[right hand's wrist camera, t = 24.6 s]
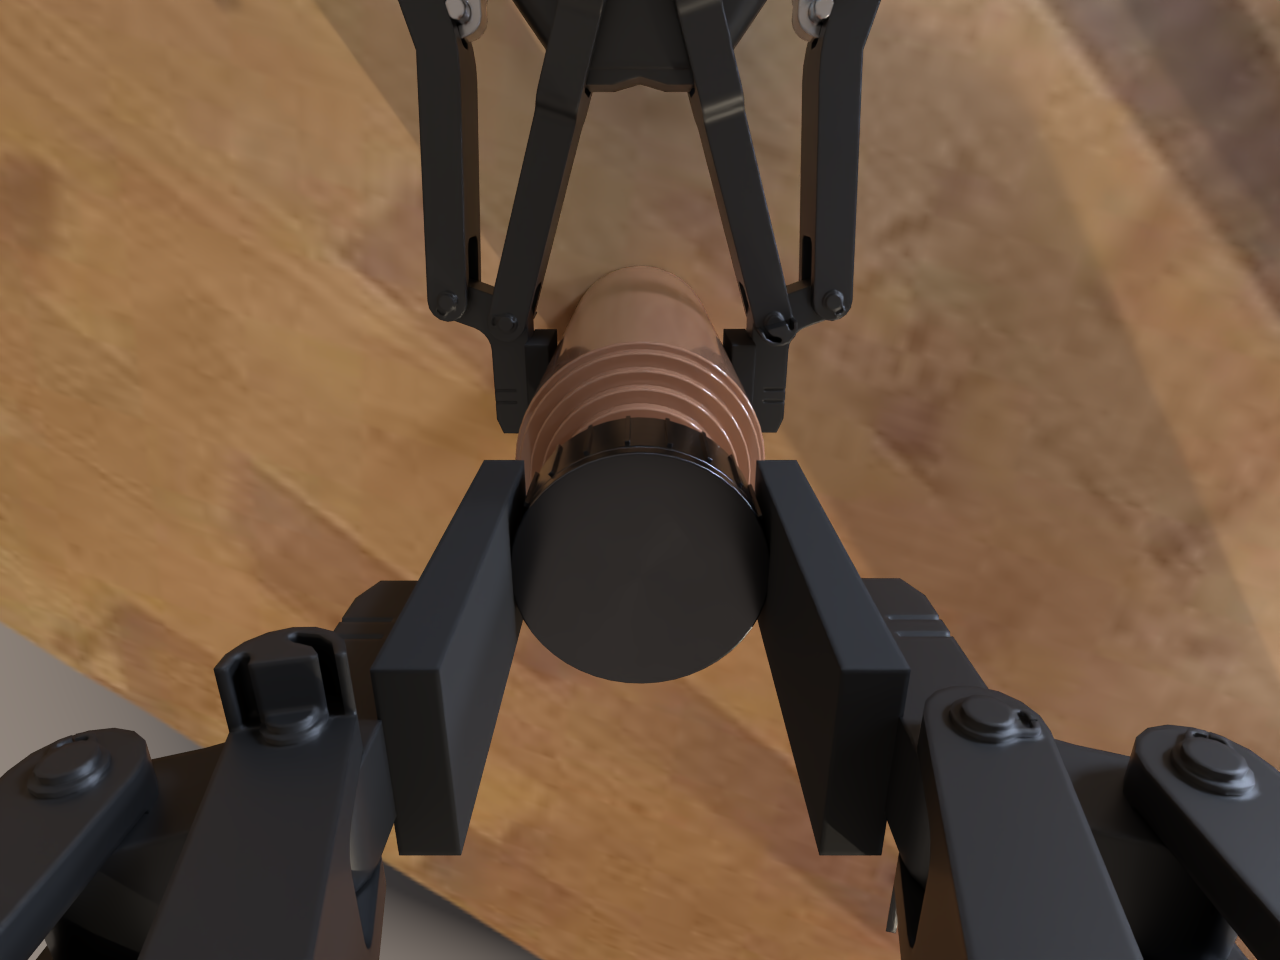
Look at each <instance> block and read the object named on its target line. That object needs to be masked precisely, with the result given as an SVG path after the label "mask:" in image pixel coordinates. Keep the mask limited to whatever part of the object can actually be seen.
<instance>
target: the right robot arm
mask: <svg viewBox="0 0 1280 960" xmlns="http://www.w3.org/2000/svg"><path fill="white" fill-rule="evenodd" d="M754 492H755V495H756V498H757V500H758V503H759V506H760V509H761V511H762V514H763V517H764V519H761V522H762V525H763V528H764V531H765V534H766V537H767V540H768V544H769V549H770V563H769V577H768V591H767V598H766V601H765V604H764V606H763V608H762V611H761V613H760V615H759V617H758V619H757V620H758V623H759V627H760V631H761V635H762V639H763V642H764V646H765V650H766V654H767V658H768V661H769V665H770V669H771V673H772V677H773V680H774V684H775V688H776V692H777V696H778V699H779V703H780V707H781V711H782V715H783V718H784V722H785V726H786V730H787V734H788V737H789V741H790V745H791V749H792V753H793V756H794V760H795V764H796V768H797V772H798V775H799V779H800V783H801V787H802V791H803V795H804V798H805V802H806V806H807V810H808V814H809V817H810V821H811V825H812V829H813V833H814V836H815V840H816V844H817V848H818V852H819V855H881V854H882V848H883V841H884V835H885V829H886V823H887V821H888V824H889V827H890V829H891V832H892V834H893V837H894V840H895V842H896V845H897V848H898V850H899V856H898V862H897V868H896V874H895V880H894V886H893V891H892V897H891V903H890V909H889V915H888V921H887V928H886V931H887V932H892V933H896V929H897V924H898V932H899V943H900V953H901V960H1248V959H1247V958H1246V956H1245V955H1244V954H1243V953H1242V951H1241V950H1240V949H1239V948H1238V946H1237V945H1236V944H1235V940H1236V938H1237V936H1239V937H1240V939H1241V940H1242V941H1243V942H1244V944H1245V945H1246V946H1247V947H1248V949H1249V950H1250V951H1251V952H1252V954H1253V955H1254V956H1255V957H1256V959H1257V960H1280V772H1279V771H1277V770H1276V769H1275V768H1274V767H1273V766H1271V765H1270V764H1269V763H1267V762H1266V761H1265V760H1263V759H1262V758H1260V757H1259V756H1258V755H1256V754H1255V753H1254V752H1252V751H1251V750H1249V749H1247V748H1245V747H1243V746H1241V745H1239V744H1237V743H1235V742H1233V741H1231V740H1229V739H1227V738H1225V737H1223V736H1220V735H1217V734H1215V733H1212V732H1206V731H1205V730H1200V729H1196V728H1193V727H1184V726H1175V725H1163V726H1157V727H1151V728H1147V729H1146V730H1144V731H1143V732H1142V733H1141V734H1140V735H1138V736H1137V737H1136V740H1135V743H1134V746H1133V749H1132V753H1131V756H1125V755H1121V754H1116V753H1111V752H1106V751H1102V750H1097V749H1092V748H1088V747H1083V746H1078V745H1074V744H1071V743H1067V742H1063V741H1060V740H1056V739H1054V738H1053V736H1052V733H1051V731H1050V730H1049V728H1048V727H1047V725H1046V724H1045V722H1044V721H1043V720H1042V718H1041V717H1040V715H1038V714H1037V713H1036V712H1034V711H1033V710H1032V709H1030V708H1029V707H1028V706H1026V705H1025V704H1024V703H1022V702H1021V701H1019V700H1016V699H1014V698H1012V697H1010V696H1008V695H1005V694H1003V693H1001V692H999V691H994V690H990V689H988V688H987V686H986V685H985V683H984V682H983V680H982V679H981V677H980V676H979V674H978V673H977V671H976V670H975V668H974V667H973V665H972V664H971V663H970V661H969V660H968V658H967V657H966V655H965V654H964V652H963V651H962V649H961V648H960V646H959V645H958V643H957V642H956V640H955V639H954V637H953V636H950V632H949V630H948V629H947V627H946V626H945V624H944V623H943V621H942V620H939V615H938V614H937V612H936V611H935V609H934V608H933V606H932V605H931V603H930V602H929V600H928V599H927V598H926V596H925V595H924V594H922V593H921V592H919V591H918V590H916V589H915V588H913V587H912V586H910V585H909V584H908V583H906V582H905V581H903V580H902V579H900V578H860V576H859V574H858V572H857V570H856V568H855V567H854V565H853V563H852V561H851V559H850V557H849V556H848V554H847V552H846V550H845V548H844V546H843V545H842V543H841V541H840V539H839V537H838V535H837V534H836V532H835V530H834V528H833V526H832V524H831V523H830V521H829V519H828V517H827V515H826V513H825V512H824V510H823V508H822V506H821V504H820V503H819V501H818V499H817V497H816V495H815V493H814V492H813V490H812V488H811V486H810V484H809V482H808V481H807V479H806V477H805V475H804V473H803V471H802V470H801V468H800V466H799V464H798V462H797V460H756V475H755V491H754ZM525 498H526V483H525V467H524V460H484V461H483V463H482V465H481V467H480V469H479V470H478V472H477V474H476V476H475V478H474V480H473V481H472V483H471V485H470V487H469V489H468V491H467V492H466V494H465V496H464V498H463V500H462V502H461V503H460V505H459V507H458V509H457V511H456V513H455V514H454V516H453V518H452V520H451V522H450V524H449V525H448V527H447V529H446V531H445V533H444V535H443V536H442V538H441V540H440V542H439V544H438V546H437V547H436V549H435V551H434V553H433V555H432V557H431V558H430V560H429V562H428V564H427V566H426V568H425V569H424V571H423V573H422V575H421V577H420V578H419V580H418V581H380V582H378V583H377V584H375V585H374V586H372V587H371V588H369V589H368V590H367V591H365V592H364V593H362V594H361V595H359V596H358V597H356V598H355V600H354V601H353V603H352V604H351V606H350V607H349V609H348V610H347V612H346V613H345V615H344V616H343V618H342V622H339V624H338V625H337V627H336V628H335V630H334V631H330V630H326V629H322V628H318V627H292V628H287V629H282V630H277V631H273V632H268V633H265V634H263V635H260V636H258V637H255V638H253V639H250V640H248V641H245V642H244V643H242V644H241V645H239V646H238V647H236V648H234V649H233V650H231V651H230V652H228V653H227V654H225V656H224V657H223V658H222V659H221V660H220V662H219V663H218V664H217V665H216V666H215V668H214V673H215V677H216V681H217V685H218V689H219V693H220V697H221V701H222V705H223V709H224V713H225V717H226V721H227V725H228V729H229V734H228V737H227V739H226V742H225V743H221V744H218V745H214V746H211V747H207V748H203V749H198V750H194V751H189V752H184V753H179V754H175V755H170V756H165V757H161V758H156V759H151V757H150V754H149V751H148V747H147V744H146V741H145V740H144V739H143V738H142V737H141V736H139V735H138V734H137V733H136V732H135V731H130V730H124V729H118V728H108V729H99V730H90V731H86V732H83V733H78V734H76V735H73V736H72V735H71V736H68V737H65V738H62V739H60V740H57V741H55V742H54V743H52V744H50V745H48V746H45V747H43V748H42V749H39V750H37V751H35V752H33V753H31V754H30V755H29V756H27V757H26V758H25V759H23V760H22V761H20V762H19V763H18V764H16V765H15V766H14V767H12V768H11V769H10V770H8V771H7V772H6V773H5V774H4V775H3V776H2V777H1V778H0V960H28V959H29V957H30V956H31V955H32V954H33V952H34V951H35V950H36V949H37V947H38V946H39V945H40V944H41V942H42V941H43V940H44V939H45V941H46V943H47V946H46V947H45V949H44V950H43V951H42V953H41V954H40V955H39V956H38V958H37V959H36V960H379V955H380V944H381V934H382V924H383V913H384V903H385V893H386V881H385V875H384V868H383V862H382V856H381V855H382V853H383V850H384V847H385V845H386V842H387V840H388V837H389V834H390V832H391V829H392V826H393V824H394V826H395V832H396V838H397V845H398V851H399V855H461V853H462V850H463V846H464V842H465V838H466V834H467V831H468V827H469V823H470V819H471V815H472V812H473V808H474V804H475V800H476V796H477V793H478V789H479V785H480V781H481V777H482V774H483V770H484V766H485V762H486V758H487V755H488V751H489V747H490V743H491V739H492V735H493V732H494V728H495V724H496V720H497V716H498V713H499V709H500V705H501V701H502V697H503V694H504V690H505V686H506V682H507V678H508V675H509V671H510V667H511V663H512V659H513V656H514V652H515V648H516V644H517V640H518V637H519V633H520V629H521V625H522V621H523V618H522V616H521V613H520V611H519V609H518V607H517V605H516V602H515V599H514V595H513V584H512V570H511V547H512V543H513V540H514V535H515V532H516V529H517V526H518V523H519V521H520V518H521V515H522V512H523V509H524V505H523V504H524V501H525Z"/></svg>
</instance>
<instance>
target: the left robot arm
mask: <svg viewBox="0 0 1280 960" xmlns="http://www.w3.org/2000/svg"><path fill="white" fill-rule="evenodd" d="M398 1H399V4H400V7H401V10H402V12H403V15H404V18H405V21H406V24H407V26H408V29H409V32H410V35H411V38H412V40H413V43H414V46H415V49H416V58H417V80H418V102H419V124H420V146H421V168H422V190H423V211H424V233H425V255H426V277H427V299H428V305H429V309H430V310H431V312H432V313H433V315H434V316H436V317H437V318H438V319H440V320H443V321H447V322H449V321H457V322H459V323H462V324H465V325H468V326H471V327H473V328H476V329H478V330H480V331H481V332H482V333H483V334H485V336H486V337H487V338H488V340H489V342H490V344H491V348H492V358H493V371H494V384H495V398H496V411H497V420H498V422H499V424H500V426H501V428H502V430H503V432H504V433H519V429H520V426H521V423H522V420H523V418H524V415H525V412H526V410H527V408H528V406H529V404H530V402H531V400H532V398H533V396H534V394H535V392H536V390H537V388H538V386H539V383H540V381H541V379H542V377H543V375H544V373H545V371H546V369H547V367H548V365H549V363H550V361H551V359H552V357H553V355H554V352H555V350H556V348H557V329H535V330H534V324H533V319H534V318H535V316H536V314H537V312H536V308H537V304H538V300H539V296H540V292H541V288H542V284H543V280H544V276H545V272H546V268H547V264H548V260H549V256H550V253H551V249H552V245H553V241H554V237H555V233H556V229H557V225H558V221H559V217H560V213H561V209H562V205H563V201H564V197H565V193H566V189H567V185H568V181H569V177H570V173H571V169H572V165H573V161H574V157H575V154H576V150H577V146H578V142H579V138H580V134H581V130H582V127H583V124H584V121H585V118H586V115H587V111H588V107H589V103H590V100H591V96H592V92H616V91H619V90H622V89H626V88H629V87H632V86H635V85H644V86H648V87H651V88H654V89H658V90H661V91H664V92H688V96H689V100H690V104H691V108H692V112H693V115H694V119H695V122H696V124H697V127H698V130H699V134H700V138H701V142H702V146H703V149H704V153H705V157H706V161H707V165H708V169H709V173H710V177H711V181H712V185H713V189H714V192H715V196H716V200H717V204H718V208H719V212H720V216H721V220H722V224H723V228H724V232H725V235H726V239H727V243H728V247H729V251H730V255H731V259H732V263H733V267H734V271H735V274H736V278H737V282H738V286H739V290H740V294H741V298H742V302H743V306H744V310H745V314H746V316H747V328H746V329H724V334H723V347H724V349H725V351H726V353H727V355H728V357H729V359H730V362H731V364H732V366H733V368H734V370H735V372H736V374H737V376H738V378H739V380H740V382H741V384H742V386H743V388H744V390H745V392H746V395H747V397H748V399H749V401H750V403H751V405H752V407H753V409H754V411H755V414H756V416H757V419H758V421H759V424H760V427H761V431H762V432H777V430H778V428H779V426H780V424H781V422H782V420H783V416H784V400H785V388H786V375H787V361H788V349H789V344H790V342H791V340H792V339H793V338H794V337H795V335H796V333H797V332H798V331H800V330H801V329H803V328H805V327H807V326H810V325H813V324H816V323H819V322H821V321H824V320H830V321H834V320H838V319H840V318H842V317H843V316H845V315H846V314H847V312H848V311H849V310H850V308H851V304H852V299H853V276H854V252H855V229H856V205H857V182H858V159H859V135H860V112H861V89H862V65H863V49H864V46H865V43H866V40H867V38H868V35H869V32H870V29H871V26H872V24H873V21H874V18H875V15H876V12H877V10H878V7H879V4H880V1H881V0H792V5H793V12H792V25H793V29H794V31H795V33H796V34H797V35H798V36H799V37H800V38H801V39H803V40H805V41H807V42H808V45H807V48H806V54H805V60H804V65H803V80H802V131H801V191H800V251H799V281H798V282H796V283H793V284H790V285H787V286H786V285H785V281H784V276H783V272H782V268H781V263H780V259H779V255H778V251H777V246H776V242H775V238H774V233H773V229H772V225H771V221H770V216H769V212H768V208H767V203H766V199H765V195H764V191H763V186H762V182H761V178H760V173H759V169H758V165H757V161H756V156H755V152H754V148H753V143H752V139H751V135H750V130H749V126H748V122H747V118H746V113H745V107H744V95H743V90H742V85H741V80H740V76H739V72H738V68H737V63H736V59H735V55H734V48H735V47H736V45H737V44H738V42H739V41H740V39H741V38H742V36H743V35H744V33H745V32H746V30H747V29H748V28H749V26H750V25H751V23H752V22H753V20H754V19H755V17H756V16H757V14H758V13H759V11H760V10H761V8H762V7H763V5H764V4H765V2H766V1H767V0H512V1H513V2H514V3H515V5H516V6H517V8H518V9H519V11H520V12H521V14H522V15H523V17H524V18H525V20H526V21H527V23H528V24H529V26H530V27H531V29H532V30H533V31H534V33H535V34H536V36H537V37H538V39H539V40H540V42H541V43H542V45H543V46H544V48H545V49H546V53H545V58H544V62H543V66H542V71H541V75H540V80H539V84H538V89H537V94H536V104H535V113H534V117H533V122H532V126H531V130H530V135H529V139H528V143H527V148H526V152H525V156H524V161H523V165H522V170H521V174H520V178H519V183H518V187H517V191H516V196H515V200H514V204H513V209H512V213H511V217H510V222H509V226H508V230H507V235H506V239H505V244H504V248H503V252H502V257H501V261H500V265H499V270H498V274H497V278H496V283H495V287H494V286H491V285H488V284H485V283H483V282H481V251H480V200H479V149H478V98H477V73H476V63H475V57H474V52H473V47H472V44H471V42H473V41H475V40H477V39H479V38H480V37H481V36H482V35H483V34H484V32H485V30H486V28H487V22H488V21H487V8H486V7H487V1H488V0H398Z"/></svg>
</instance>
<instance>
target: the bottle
mask: <svg viewBox="0 0 1280 960" xmlns="http://www.w3.org/2000/svg"><path fill="white" fill-rule="evenodd" d="M626 416H631V418H634V417H646V418H658V419H663V420H665V418H670V421H673V422H676V423H679V424H682V425H685V426H688V427H690V428H692V429H694V430H696V431H699V432H700V433H701V431H703V432H705V433H706V436H707V437H708V438H710V439H712V440H713V441H714V442H715V443H717V444H718V445H719V446H720V447H721V448H723V449H724V450H725V451H726V452H727V453H728V455H731V454H732V455H733V456H734V457H735V460H736V463H737V466H738V467H739V469H740V470H741V471H742V473H743V475H744V477H745V479H746V481H747V483H748V485H749V484H752V487H753V489H754V491H755V475H756V460H765V450H764V440H763V436H762V431H761V427H760V424H759V421H758V419H757V416H756V414H755V411H754V409H753V407H752V405H751V403H750V401H749V399H748V397H747V395H746V392H745V390H744V388H743V386H742V384H741V382H740V380H739V378H738V376H737V374H736V372H735V370H734V368H733V366H732V364H731V362H730V359H729V357H728V355H727V353H726V351H725V349H724V347H723V345H722V343H721V341H720V339H719V337H718V335H717V333H716V331H715V329H714V327H713V324H712V322H711V320H710V318H709V316H708V314H707V312H706V310H705V308H704V306H703V304H702V302H701V300H700V299H699V297H698V296H697V294H696V293H695V292H694V290H693V289H692V288H691V287H690V286H689V285H688V284H687V283H685V282H684V281H683V280H682V279H680V278H679V277H677V276H675V275H674V274H672V273H670V272H668V271H665V270H663V269H659V268H655V267H649V266H631V267H625V268H622V269H618V270H615V271H613V272H611V273H608V274H607V275H605V276H603V277H602V278H600V279H599V280H598V281H596V282H595V283H594V284H593V285H592V286H591V287H590V288H589V289H588V290H587V291H586V292H585V294H584V295H583V296H582V298H581V299H580V301H579V303H578V305H577V307H576V309H575V311H574V313H573V315H572V317H571V319H570V321H569V323H568V326H567V328H566V330H565V332H564V334H563V336H562V338H561V340H560V342H559V344H558V346H557V348H556V350H555V352H554V355H553V357H552V359H551V361H550V363H549V365H548V367H547V369H546V371H545V373H544V375H543V377H542V379H541V381H540V383H539V386H538V388H537V390H536V392H535V394H534V396H533V398H532V400H531V402H530V404H529V406H528V408H527V410H526V412H525V415H524V418H523V420H522V423H521V426H520V429H519V434H518V439H517V444H516V460H524V467H525V483H526V495H527V492H528V489H529V487H530V484H531V481H532V478H533V475H534V473H535V472H538V473H539V471H540V470H541V468H542V466H543V465H544V463H545V462H546V461H547V460H548V459H549V458H550V456H551V455H552V454H553V453H554V452H555V449H556V446H557V445H559V444H560V445H561V446H562V445H563V444H564V443H565V442H566V441H568V440H569V439H571V438H572V437H574V436H575V435H577V434H578V433H580V432H582V431H584V430H586V429H588V426H590V425H593V426H596V425H599V424H601V423H604V422H608V421H612V420H617V419H622V418H626Z"/></svg>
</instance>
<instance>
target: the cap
mask: <svg viewBox="0 0 1280 960" xmlns="http://www.w3.org/2000/svg"><path fill="white" fill-rule="evenodd" d="M523 505H524V509H523V512H522V515H521V518H520V521H519V523H518V526H517V529H516V532H515V535H514V540H513V543H512V547H511V570H512V584H513V595H514V599H515V602H516V605H517V607H518V609H519V611H520V613H521V616H522V618H523V620H524V621H525V623H526V624H527V626H528V627H529V629H530V630H531V632H532V633H533V634H534V635H535V637H536V638H537V639H538V640H539V641H540V642H541V643H542V644H543V645H544V646H545V647H546V648H547V649H548V650H549V651H550V652H552V653H553V654H554V655H555V656H557V657H558V658H560V659H561V660H563V661H564V662H565V663H567V664H569V665H571V666H573V667H575V668H576V669H578V670H580V671H583V672H585V673H588V674H591V675H593V676H596V677H600V678H603V679H607V680H611V681H618V682H625V683H656V682H663V681H669V680H674V679H678V678H681V677H684V676H688V675H691V674H693V673H695V672H698V671H700V670H702V669H705V668H706V667H708V666H710V665H712V664H713V663H715V662H717V661H718V660H720V659H721V658H722V657H724V656H725V655H727V654H728V653H729V652H731V651H732V650H733V649H734V648H735V647H736V646H737V645H738V644H739V643H740V642H741V641H742V640H743V639H744V637H745V636H746V635H747V634H748V632H749V631H750V630H751V629H752V627H753V625H754V624H755V622H756V620H757V619H758V617H759V615H760V613H761V611H762V608H763V606H764V604H765V601H766V598H767V591H768V577H769V563H770V549H769V544H768V540H767V537H766V534H765V531H764V528H763V525H762V522H761V519H764V517H763V514H762V511H761V509H760V506H759V503H758V500H757V498H756V495H755V492H754V489H753V487H752V484H749V485H748V483H747V481H746V479H745V477H744V475H743V473H742V471H741V470H740V469H739V467H738V466H737V463H736V460H735V457H734V456H733V455H732V454H731V455H728V453H727V452H726V451H725V450H724V449H723V448H721V447H720V446H719V445H718V444H717V443H715V442H714V441H713V440H712V439H710V438H708V437H707V436H706V433H705V432H703V431H701V433H700V432H699V431H696V430H694V429H692V428H690V427H688V426H685V425H682V424H679V423H676V422H673V421H670V418H665V420H663V419H658V418H646V417H634V418H631V416H626V418H622V419H617V420H612V421H608V422H604V423H601V424H599V425H596V426H593V425H590V426H588V429H586V430H584V431H582V432H580V433H578V434H577V435H575V436H574V437H572V438H571V439H569V440H568V441H566V442H565V443H564V444H563V445H562V446H561V445H560V444H559V445H557V446H556V449H555V452H554V453H553V454H552V455H551V456H550V458H549V459H548V460H547V461H546V462H545V463H544V465H543V466H542V468H541V470H540V471H539V473H538V472H535V473H534V475H533V478H532V481H531V484H530V487H529V489H528V492H527V495H526V498H525V501H524V504H523Z"/></svg>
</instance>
